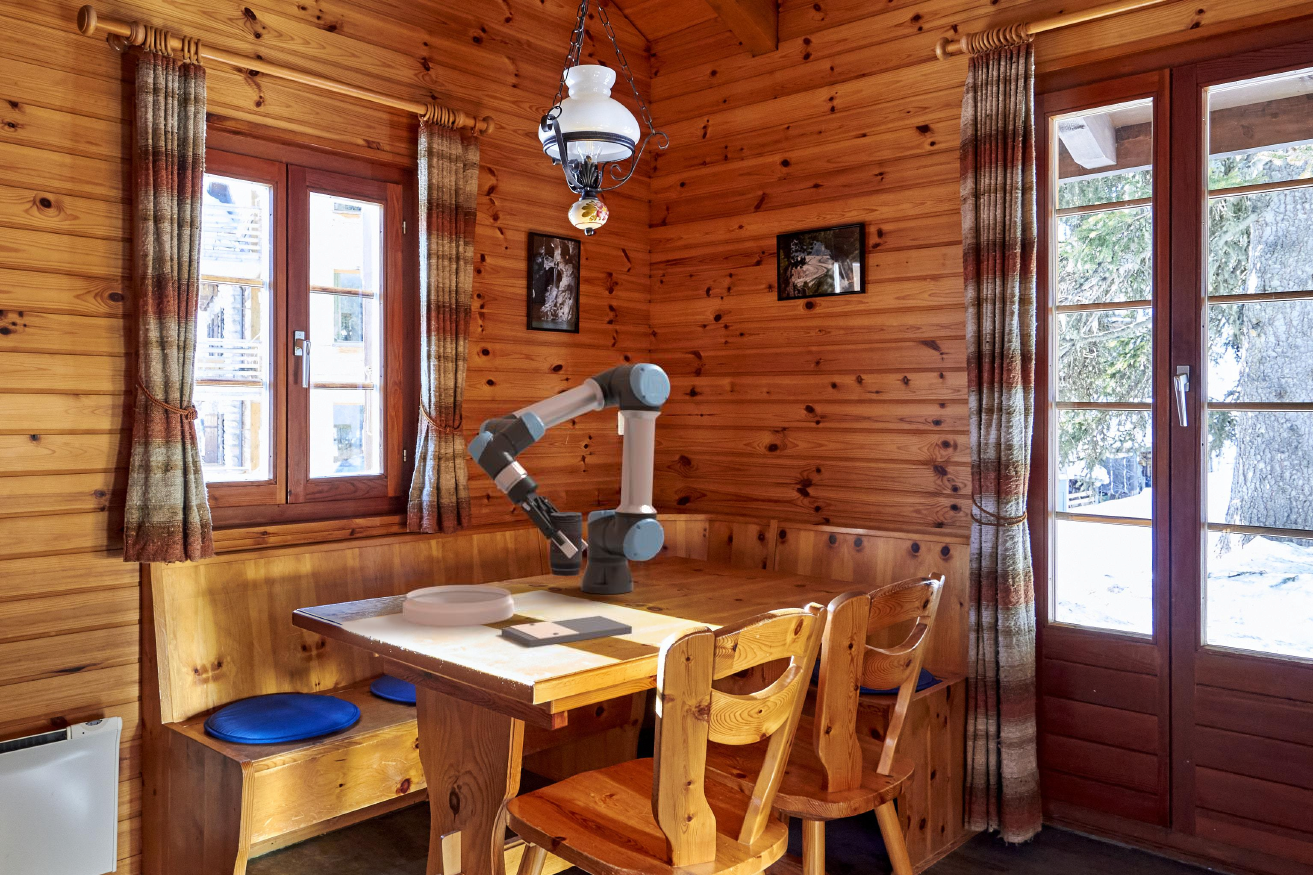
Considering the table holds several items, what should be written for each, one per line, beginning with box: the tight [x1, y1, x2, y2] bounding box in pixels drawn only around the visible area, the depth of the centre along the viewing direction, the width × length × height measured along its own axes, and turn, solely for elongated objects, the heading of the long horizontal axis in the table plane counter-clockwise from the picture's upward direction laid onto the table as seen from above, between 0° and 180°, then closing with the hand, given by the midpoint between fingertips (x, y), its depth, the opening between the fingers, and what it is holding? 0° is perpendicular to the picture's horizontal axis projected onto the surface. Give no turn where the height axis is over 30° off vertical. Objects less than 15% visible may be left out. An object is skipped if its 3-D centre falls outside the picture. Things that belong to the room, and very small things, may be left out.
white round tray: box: [402, 584, 515, 627], centre depth 232 cm, size 27×27×6 cm
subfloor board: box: [501, 615, 633, 648], centre depth 212 cm, size 26×14×2 cm, turn 125°
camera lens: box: [549, 511, 583, 577], centre depth 228 cm, size 8×8×15 cm
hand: (578, 551), depth 228 cm, fingers closed on camera lens, 8 cm apart
